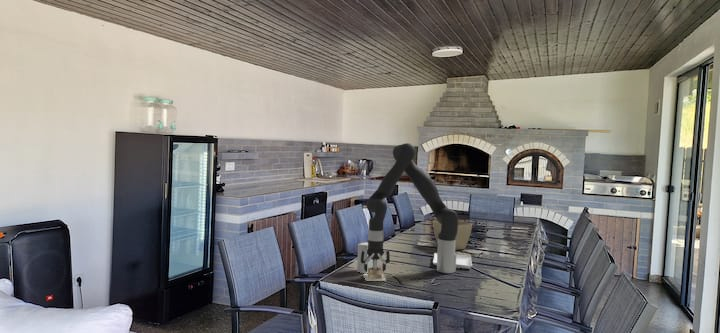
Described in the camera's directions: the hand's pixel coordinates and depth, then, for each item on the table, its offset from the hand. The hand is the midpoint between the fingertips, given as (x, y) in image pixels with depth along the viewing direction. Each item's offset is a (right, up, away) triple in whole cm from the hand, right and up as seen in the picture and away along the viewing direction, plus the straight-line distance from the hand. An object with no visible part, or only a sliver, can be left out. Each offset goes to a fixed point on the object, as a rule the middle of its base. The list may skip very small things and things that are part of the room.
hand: (374, 271), depth 215 cm
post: (0, -4, 0) cm, 4 cm away
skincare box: (-4, -3, +12) cm, 13 cm away
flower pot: (+52, -2, +69) cm, 87 cm away
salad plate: (+45, -4, +31) cm, 55 cm away
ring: (0, -3, 0) cm, 3 cm away
